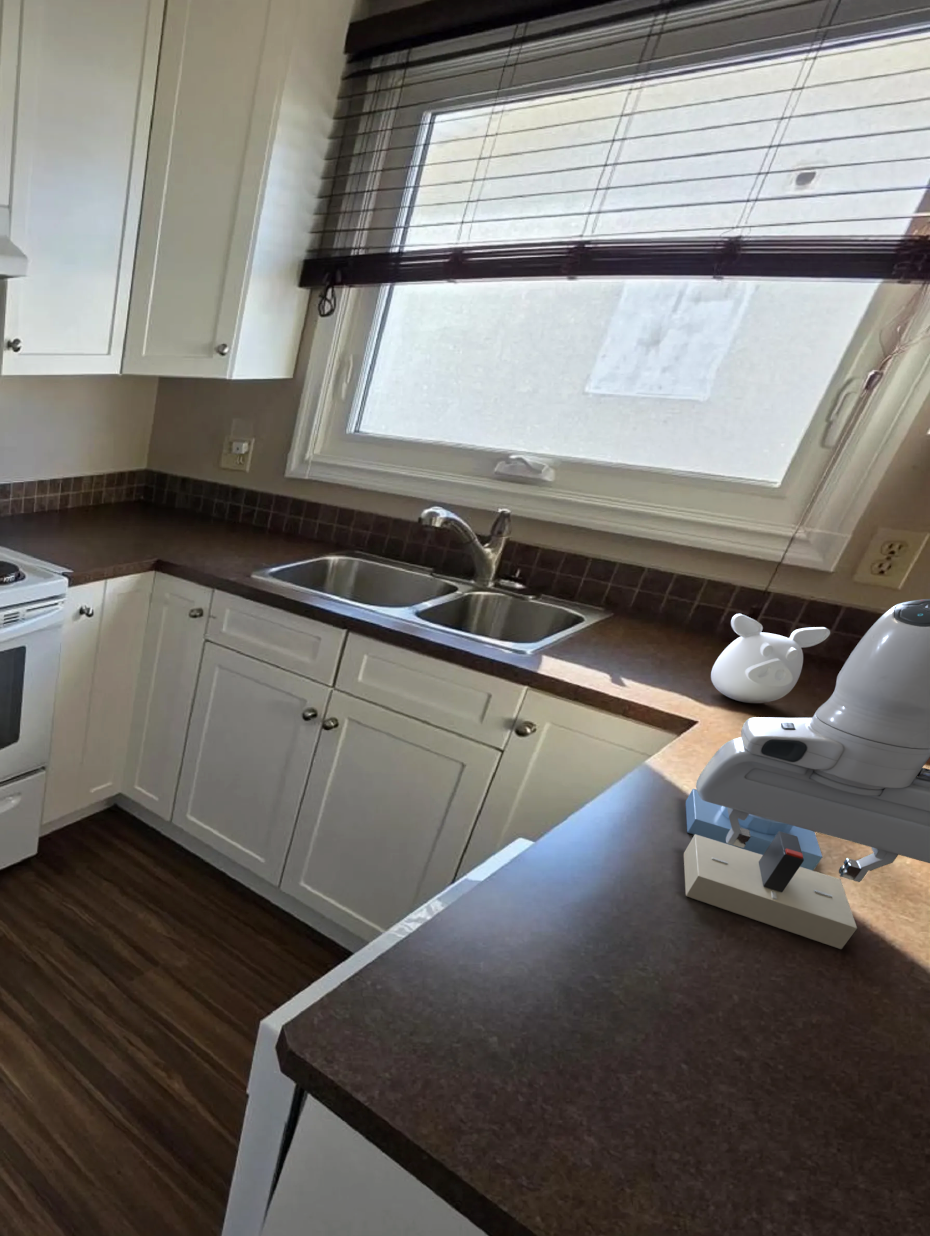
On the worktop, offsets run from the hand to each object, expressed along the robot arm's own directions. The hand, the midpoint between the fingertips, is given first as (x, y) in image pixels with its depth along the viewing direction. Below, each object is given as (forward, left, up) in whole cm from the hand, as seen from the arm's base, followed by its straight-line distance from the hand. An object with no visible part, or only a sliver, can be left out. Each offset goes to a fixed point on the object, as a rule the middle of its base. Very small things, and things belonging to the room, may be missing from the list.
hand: (789, 859), depth 90 cm
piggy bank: (-2, -75, -6) cm, 76 cm away
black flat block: (+1, 0, -3) cm, 3 cm away
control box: (+1, 0, -6) cm, 6 cm away
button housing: (+1, -17, -6) cm, 18 cm away
